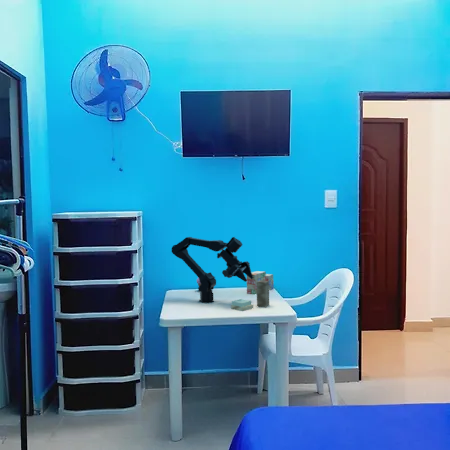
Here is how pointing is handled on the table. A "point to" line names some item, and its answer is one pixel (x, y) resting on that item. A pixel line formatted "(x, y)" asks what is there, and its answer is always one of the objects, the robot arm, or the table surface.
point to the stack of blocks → (257, 277)
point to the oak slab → (242, 307)
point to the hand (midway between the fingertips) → (249, 279)
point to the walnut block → (262, 293)
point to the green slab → (241, 303)
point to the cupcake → (198, 282)
